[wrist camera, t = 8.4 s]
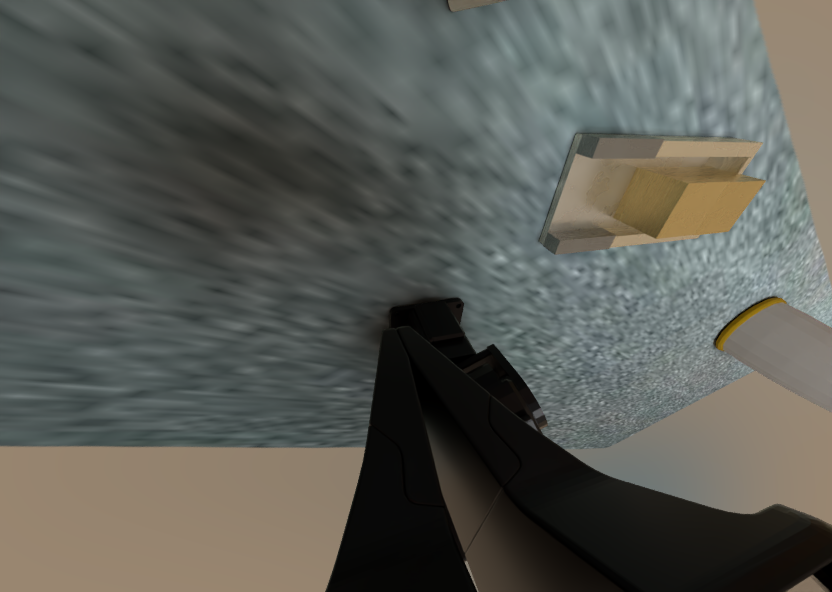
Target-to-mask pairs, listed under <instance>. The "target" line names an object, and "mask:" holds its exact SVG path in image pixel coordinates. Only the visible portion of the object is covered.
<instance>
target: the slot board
mask: <svg viewBox="0 0 832 592" xmlns="http://www.w3.org/2000/svg"><path fill="white" fill-rule="evenodd" d="M762 144H763V143H762V142H756V141H750V140H744V139H738V138H728V137H688V136H648V135H618V134H576V135H575V138H574V141H573V144H572V147H571V149H570V152H569V155H568V158H567V161H566V164H565V167H564V170H563V173H562V176H561V179H560V182H559V185H558V187H557V190H556V193H555V196H554V199H553V202H552V205H551V208H550V211H549V214H548V217H547V220H546V223H545V225H544V228H543V231H542V234H541V237H540V240H539V242H540V243H542V244H543V246H544V247H545V248H547V249H548V250H549V251H551V252H552V253H553V254H555V255H556V254H565V253H574V252H584V251H593V250H602V249H609V248H611V247H620V246H629V245H639V244H648V243H657V242H666V241H676V240H685V239H694V238H698V237H699V235H688V236H678V237H669V238H660V239H655V238H653V237H651V236H649V235H647V234H645V233H643V232H641V231H639V230H637V229H635V228H633V227H631V226H628V225H626V224H624V223H622V222H620V221H618V220H616V219H614V218H613V216H614V214H615V212H616V210H617V208H618V206H619V204H620V202H621V200H622V198H623V195H624V193H625V191H626V189H627V187H628V185H629V183H630V181H631V179H632V176H633V174H634V172H635V170H636V168H637V167H704V166H710V167H714V168H718V169H722V170H726V171H730V172H734V173H738V174H742V173H743V171H744V170H745V168H746V167H747V166H748V164H749V163H750V161H751V160H752V158H753V157H754V155H755V154H756V152H757V151H758V150H759V148H760V147H761V145H762Z"/></svg>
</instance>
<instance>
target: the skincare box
mask: <svg viewBox="0 0 832 592" xmlns="http://www.w3.org/2000/svg"><path fill="white" fill-rule="evenodd" d="M502 1H507V0H448V3H449V7H450V10H451V11H452V12H456V11H461V10H465V9H470V8H475V7H479V6H484V5H488V4H493V3H497V2H502Z"/></svg>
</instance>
